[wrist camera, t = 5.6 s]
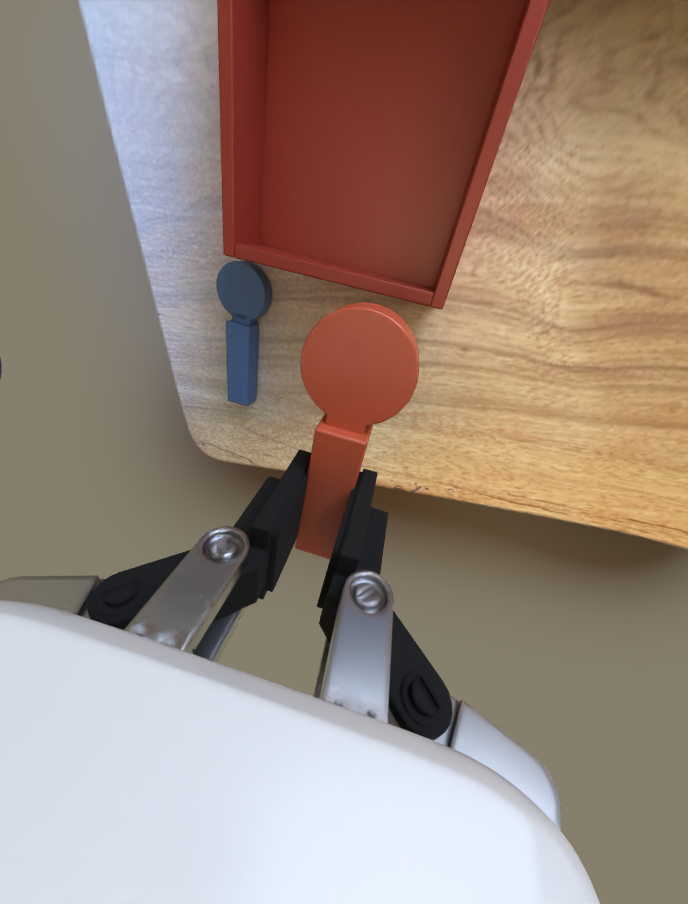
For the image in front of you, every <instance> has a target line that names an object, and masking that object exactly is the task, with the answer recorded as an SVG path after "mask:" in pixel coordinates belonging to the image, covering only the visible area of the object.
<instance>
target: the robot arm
mask: <svg viewBox="0 0 688 904" xmlns="http://www.w3.org/2000/svg"><path fill="white" fill-rule="evenodd" d="M310 457H311V453H310V452H306V451H303V450H299V451H298V453H297V454H296V456H295V457H294V459H293V460H292V462H291V464H290V465H289V467H288V468H287V470H286V471H285V473H284V475H283V476H282V478H281V479H277V478H274V477H271V476H270V477H268V478H267V480H266V481H265V482H264V484H263V485H262V487H261V488H260V490H259V491H258V492H257V494H256V495H255V497H254V498H253V500H252V501H251V502H250V504H249V505H248V507H247V508H246V510H245V511H244V512H243V514H242V515H241V517H240V518H239V520H238V521H237V522H236V524H235V525H234V527H230V526H227V527H219V528H215V529H213V530H211V531H209V532H207V533H206V534H205V535H204V536H203V537H201V539H200V540H199V541H198V542H197V543H196V545H195V546H194V547H193V548H192V549H191V550H189V551H186V552H183V553H179V554H176V555H173V556H170V557H167V558H164V559H160V560H157V561H154V562H151V563H148V564H144V565H141V566H138V567H135V568H132V569H129V570H125V571H122V572H119V573H117V574H114V575H112V576H110V577H109V578H107V579H99V577H98V576H31V577H30V576H24V577H23V576H22V577H14V578H9V579H6V580H3V581H0V904H600V903H599V900H598V898H597V896H596V893H595V890H594V888H593V886H592V883H591V881H590V879H589V876H588V874H587V872H586V871H585V869H584V867H583V865H582V863H581V861H580V859H579V857H578V855H577V854H576V852H575V851H574V849H573V848H572V846H571V845H570V843H569V842H568V840H567V839H566V838H565V837H564V836H563V834H562V833H561V806H560V799H559V793H558V790H557V788H556V785H555V783H554V781H553V778H552V777H551V775H550V774H549V772H548V770H547V769H546V767H545V766H544V764H543V763H542V762H541V761H540V760H539V759H538V758H537V757H536V756H535V755H534V754H532V753H531V752H530V751H529V750H527V749H526V748H525V747H523V746H522V745H521V744H519V743H518V742H517V741H515V740H514V739H513V738H512V737H510V736H509V735H508V734H506V733H505V732H504V731H502V730H501V729H500V728H499V727H497V726H496V725H495V724H493V723H492V722H491V721H489V720H488V719H487V718H485V717H484V716H483V715H481V714H480V713H479V712H478V711H476V710H475V709H474V708H472V707H471V706H470V705H469V704H467V703H466V702H465V701H463V700H461V701H460V702H459V701H458V700H456V699H455V698H454V697H452V696H451V695H450V694H449V691H448V690H447V688H446V686H445V684H444V682H443V681H442V679H441V678H440V677H439V675H438V674H437V672H436V671H435V669H434V668H433V666H432V665H431V664H430V662H429V661H428V659H427V658H426V657H425V655H424V654H423V652H422V651H421V649H420V648H419V646H418V645H417V644H416V642H415V641H414V639H413V638H412V636H411V635H410V634H409V632H408V631H407V630H406V628H405V627H404V625H403V624H402V622H401V621H400V619H399V618H398V617H397V615H396V614H395V612H394V611H393V603H394V599H393V592H392V590H391V587H390V585H389V584H388V582H387V581H386V580H385V579H384V578H383V577H382V576H380V570H381V563H382V555H383V547H384V540H385V533H386V526H387V518H388V512H385V511H382V510H379V509H375V508H372V507H371V502H372V497H373V493H374V488H375V483H376V478H377V472H374V471H370V470H367V469H363V472H360V471H359V475H358V478H357V482H356V485H355V488H354V489H351V492H350V496H349V499H348V502H347V506H346V509H345V512H344V515H343V519H342V522H341V525H340V528H339V532H338V535H337V538H336V541H335V545H334V548H333V551H332V555H331V558H330V562H329V565H328V569H327V572H326V576H325V579H324V583H323V586H322V590H321V594H320V597H319V600H318V604H317V607H319V608H322V609H323V610H322V613H321V617H320V622H319V624H320V626H321V628H322V630H323V632H324V634H325V636H326V638H325V642H324V647H323V651H322V655H321V660H320V665H319V669H318V674H317V678H316V682H315V687H314V691H313V696H310V695H307V694H305V693H301V692H299V691H296V690H293V689H291V688H288V687H285V686H282V685H279V684H276V683H273V682H271V681H267V680H265V679H262V678H259V677H256V676H254V675H251V674H248V673H245V672H242V671H239V670H237V669H234V668H231V667H228V666H225V665H222V664H219V663H217V662H218V660H219V658H220V656H221V654H222V652H223V650H224V649H225V647H226V645H227V643H228V641H229V639H230V637H231V636H232V634H233V632H234V630H235V628H236V626H237V625H238V622H239V621H240V619H241V617H242V615H243V613H244V612H245V608H246V607H247V606H249V605H251V604H253V603H255V602H256V601H257V599H258V598H260V599H263V598H264V596H265V594H266V592H267V590H268V591H271V592H272V591H273V590H274V588H275V586H276V583H277V581H278V579H279V577H280V574H281V572H282V570H283V568H284V565H285V563H286V561H287V558H288V556H289V554H290V552H291V550H292V547H293V545H294V543H295V541H296V538H297V536H298V532H299V526H300V521H301V515H302V509H303V504H304V498H305V493H306V487H307V481H308V468H309V463H310Z"/></svg>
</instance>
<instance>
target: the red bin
mask: <svg viewBox="0 0 688 904" xmlns="http://www.w3.org/2000/svg"><path fill="white" fill-rule="evenodd" d="M549 2H550V0H217V6H218V47H219V87H220V128H221V168H222V209H223V249H224V255H226V256H230V257H236V258H238V259H242V260H246V261H250V262H254V263H258V264H262V265H266V266H270V267H274V268H278V269H282V270H286V271H290V272H294V273H298V274H302V275H306V276H310V277H314V278H318V279H322V280H326V281H330V282H334V283H338V284H342V285H346V286H350V287H354V288H358V289H362V290H366V291H370V292H374V293H378V294H382V295H386V296H390V297H394V298H398V299H402V300H405V301H409V302H413V303H417V304H421V305H425V306H431V307H433V308H437V309H443V306H444V303H445V301H446V298H447V295H448V292H449V289H450V286H451V283H452V280H453V278H454V275H455V272H456V269H457V266H458V263H459V260H460V257H461V255H462V252H463V249H464V246H465V243H466V240H467V237H468V234H469V232H470V229H471V226H472V223H473V220H474V217H475V214H476V211H477V209H478V206H479V203H480V200H481V197H482V194H483V191H484V188H485V186H486V183H487V180H488V177H489V174H490V171H491V168H492V166H493V163H494V160H495V157H496V154H497V151H498V148H499V145H500V143H501V140H502V137H503V134H504V131H505V128H506V125H507V122H508V120H509V117H510V114H511V111H512V108H513V105H514V102H515V99H516V97H517V94H518V91H519V88H520V85H521V82H522V79H523V76H524V74H525V71H526V68H527V65H528V62H529V59H530V56H531V53H532V51H533V48H534V45H535V42H536V39H537V36H538V33H539V31H540V28H541V25H542V22H543V19H544V16H545V13H546V10H547V8H548V5H549Z"/></svg>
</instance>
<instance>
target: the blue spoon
mask: <svg viewBox="0 0 688 904" xmlns="http://www.w3.org/2000/svg"><path fill="white" fill-rule="evenodd" d="M217 292H218V296H219V299H220V301H221V303H222V305H223V306H224V308H225V309H226V310H227V311H228V312H229V313H230V314H231V315H232V320H229V321H227V322H226V336H227V379H228V401H231V402H235V403H238V404H242V405H245V406H248V405H250V404H251V403H252V402H253V401H255V400H256V389H257V359H258V330H259V324H258V323H256V318H258V317H260V316H262V315H263V314H265V313H266V312H267V310H268V309H269V307H270V304H271V299H272V291H271V285H270V282H269V280H268V278H267V276H266V275H265V273H264V272H263V271H262V270H261V269H260V268H259V267H258V266H257V265H255V264H254V263H251V262H248V261H232V262H229V263H227V264H226V265H224V266H223V267H222V269H221V270H220V272H219V274H218V277H217Z"/></svg>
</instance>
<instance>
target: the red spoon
mask: <svg viewBox="0 0 688 904" xmlns="http://www.w3.org/2000/svg"><path fill="white" fill-rule="evenodd" d="M301 373H302V378H303V382H304V385H305V387H306V390H307V392H308V394H309V395H310V397H311V399H312V400H313V401H314V403H315V404H316V405H317V406H318V407H319V408H320V409H321V410H322V411H323V412H325V415H324V416H323V418H322V419H321V421H320V423H319V424H318V426H317V428H316V429H315V434H314V439H313V445H312V451H311V457H310V463H309V468H308V481H307V487H306V493H305V498H304V504H303V509H302V515H301V521H300V526H299V532H298V536H297V538H296V544H295V548H296V549H299V550H302V551H305V552H308V553H312V554H315V555H318V556H321V557H324V558H327V559H330V558H331V555H332V551H333V548H334V545H335V541H336V538H337V535H338V532H339V528H340V525H341V522H342V519H343V515H344V512H345V509H346V506H347V502H348V499H349V496H350V492H351V489H354V488H355V485H356V482H357V478H358V475H359V471H360V468H361V465H362V461H363V458H364V454H365V451H366V448H367V444H368V441H369V437H370V434H371V430H372V427H373V424H377V423H380V422H383V421H385V420H388V419H389V418H391V417H393V416H394V415H396V414H397V413H398V412H400V411H401V410H402V409H403V408H404V407H405V405H406V404H407V403H408V402H409V400H410V398H411V397H412V395H413V393H414V390H415V388H416V384H417V381H418V374H419V352H418V346H417V343H416V339H415V337H414V335H413V333H412V331H411V329H410V328H409V326H408V325H407V324H406V322H405V321H404V320H403V319H402V318H401V317H400V316H399V315H397V314H396V313H395V312H393V311H392V310H390V309H388V308H386V307H384V306H381V305H378V304H373V303H362V302H361V303H353V304H349V305H346V306H343V307H341V308H339V309H337V310H336V311H334V312H332V313H331V314H329V315H327V316H326V317H324V318H323V319H322V320H321V321H319V322H318V323H317V324H316V325H315V327H314V328H313V329H312V330H311V332H310V333H309V335H308V337H307V339H306V341H305V343H304V346H303V350H302V355H301Z"/></svg>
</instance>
